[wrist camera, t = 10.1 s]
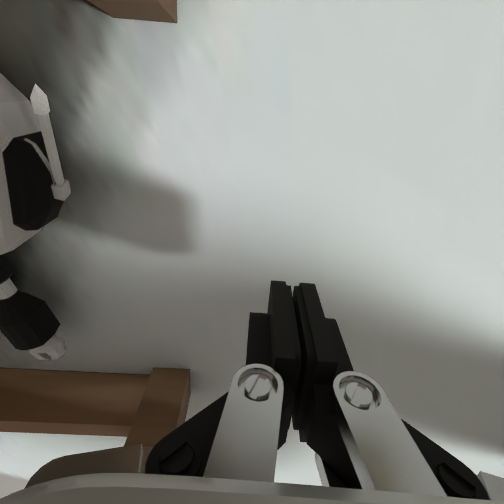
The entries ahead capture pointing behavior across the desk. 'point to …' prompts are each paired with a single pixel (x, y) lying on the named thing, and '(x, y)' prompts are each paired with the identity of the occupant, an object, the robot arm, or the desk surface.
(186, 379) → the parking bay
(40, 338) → the robot toy
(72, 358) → the desk surface
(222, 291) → the desk surface
